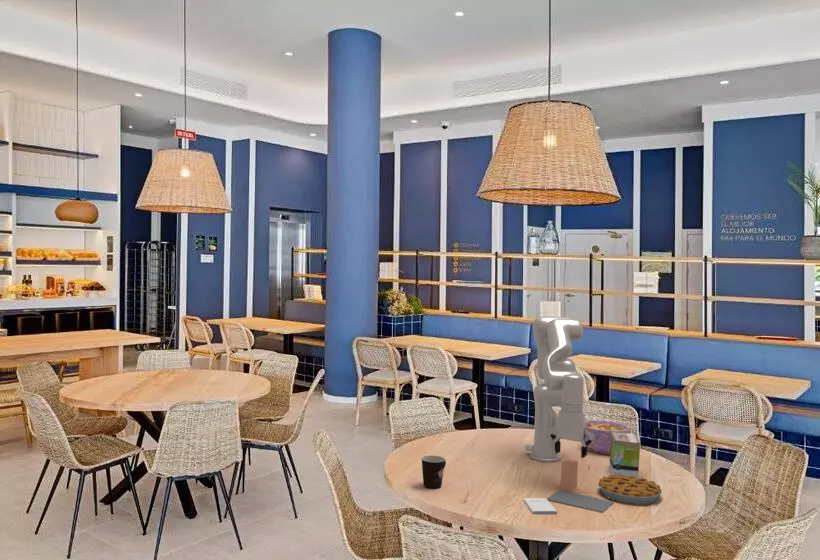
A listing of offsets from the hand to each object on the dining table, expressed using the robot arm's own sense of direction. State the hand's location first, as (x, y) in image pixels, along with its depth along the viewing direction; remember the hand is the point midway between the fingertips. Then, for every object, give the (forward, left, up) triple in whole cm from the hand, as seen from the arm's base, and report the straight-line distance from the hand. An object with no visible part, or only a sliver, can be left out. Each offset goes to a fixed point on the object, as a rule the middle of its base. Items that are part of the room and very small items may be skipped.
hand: (570, 454), depth 251 cm
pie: (+20, +8, -13) cm, 25 cm away
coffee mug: (-40, -27, -13) cm, 50 cm away
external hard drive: (-1, -25, -13) cm, 28 cm away
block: (0, +1, -13) cm, 13 cm away
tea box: (+11, +33, -13) cm, 37 cm away
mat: (+8, -10, -13) cm, 18 cm away
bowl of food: (-5, +60, -13) cm, 61 cm away
